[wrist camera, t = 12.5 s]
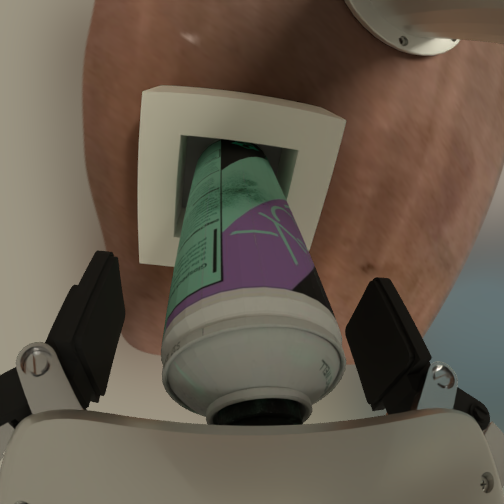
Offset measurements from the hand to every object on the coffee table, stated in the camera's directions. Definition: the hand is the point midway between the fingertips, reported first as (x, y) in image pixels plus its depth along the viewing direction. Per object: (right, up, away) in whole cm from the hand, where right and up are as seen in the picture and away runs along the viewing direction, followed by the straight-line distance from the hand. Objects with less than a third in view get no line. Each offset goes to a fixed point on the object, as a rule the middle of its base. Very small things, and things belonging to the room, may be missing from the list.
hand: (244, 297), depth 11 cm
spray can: (-1, +8, +12) cm, 14 cm away
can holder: (-1, +8, +13) cm, 15 cm away
